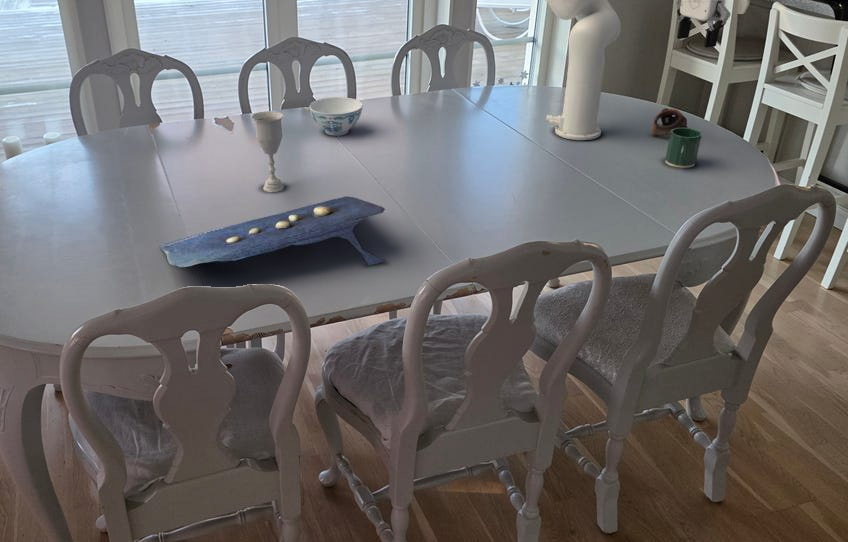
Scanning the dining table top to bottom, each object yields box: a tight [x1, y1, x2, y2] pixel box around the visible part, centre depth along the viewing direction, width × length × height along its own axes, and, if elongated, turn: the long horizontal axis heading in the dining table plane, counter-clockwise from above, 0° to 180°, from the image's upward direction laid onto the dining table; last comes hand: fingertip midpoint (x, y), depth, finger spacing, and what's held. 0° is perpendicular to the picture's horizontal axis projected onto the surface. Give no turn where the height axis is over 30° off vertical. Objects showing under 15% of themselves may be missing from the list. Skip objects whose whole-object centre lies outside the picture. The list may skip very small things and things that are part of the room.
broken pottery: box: [651, 107, 689, 137], centre depth 218 cm, size 12×10×8 cm
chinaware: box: [309, 96, 364, 137], centre depth 223 cm, size 15×15×8 cm
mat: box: [158, 195, 386, 268], centre depth 163 cm, size 45×27×12 cm, turn 114°
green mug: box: [665, 127, 703, 169], centre depth 198 cm, size 10×7×8 cm
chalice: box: [251, 110, 285, 193], centre depth 187 cm, size 7×7×18 cm
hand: (695, 42), depth 193 cm, fingers open, 9 cm apart
